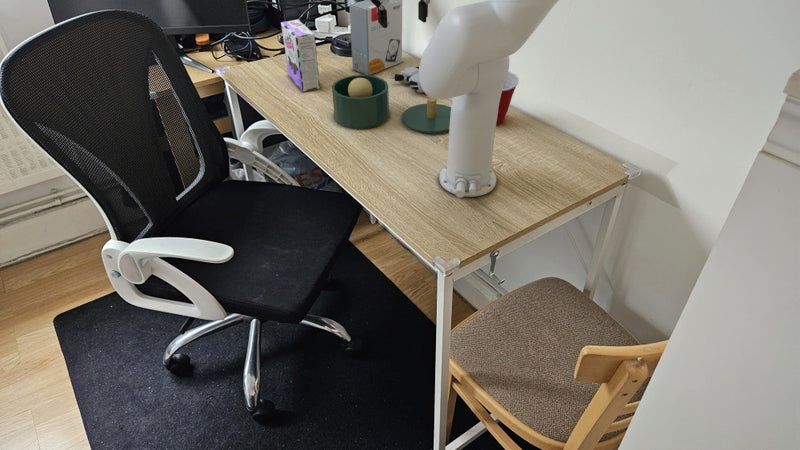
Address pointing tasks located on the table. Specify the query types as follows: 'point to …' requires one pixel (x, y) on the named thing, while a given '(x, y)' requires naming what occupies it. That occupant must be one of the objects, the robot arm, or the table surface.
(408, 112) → the green pot lid
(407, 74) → the robot toy
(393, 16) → the hard drive box
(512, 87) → the plastic cup
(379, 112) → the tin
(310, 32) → the candy box
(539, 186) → the table surface
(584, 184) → the table surface
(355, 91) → the light bulb
